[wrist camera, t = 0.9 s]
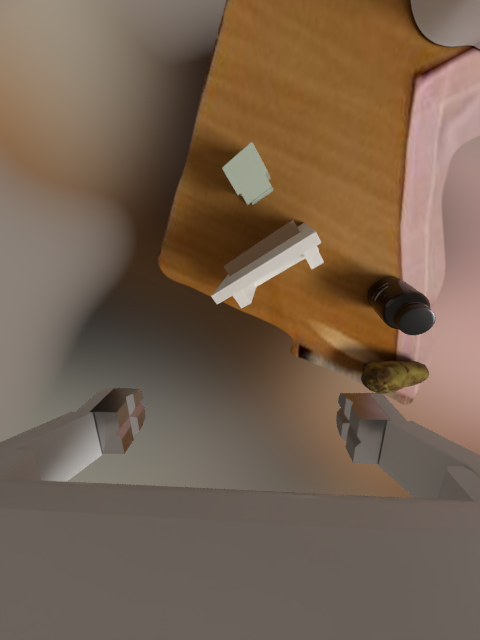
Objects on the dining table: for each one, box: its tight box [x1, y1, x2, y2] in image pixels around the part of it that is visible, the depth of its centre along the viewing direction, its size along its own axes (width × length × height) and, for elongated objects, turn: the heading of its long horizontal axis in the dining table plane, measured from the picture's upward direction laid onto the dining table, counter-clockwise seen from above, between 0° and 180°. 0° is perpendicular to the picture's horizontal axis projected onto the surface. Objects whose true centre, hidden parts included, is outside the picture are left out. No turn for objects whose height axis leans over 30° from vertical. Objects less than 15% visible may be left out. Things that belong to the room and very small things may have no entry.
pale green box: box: [222, 142, 273, 205], centre depth 35 cm, size 5×7×9 cm
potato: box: [361, 361, 429, 394], centre depth 47 cm, size 8×13×8 cm, turn 74°
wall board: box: [211, 220, 324, 308], centre depth 37 cm, size 16×8×16 cm, turn 124°
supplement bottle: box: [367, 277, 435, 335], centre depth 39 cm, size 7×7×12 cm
